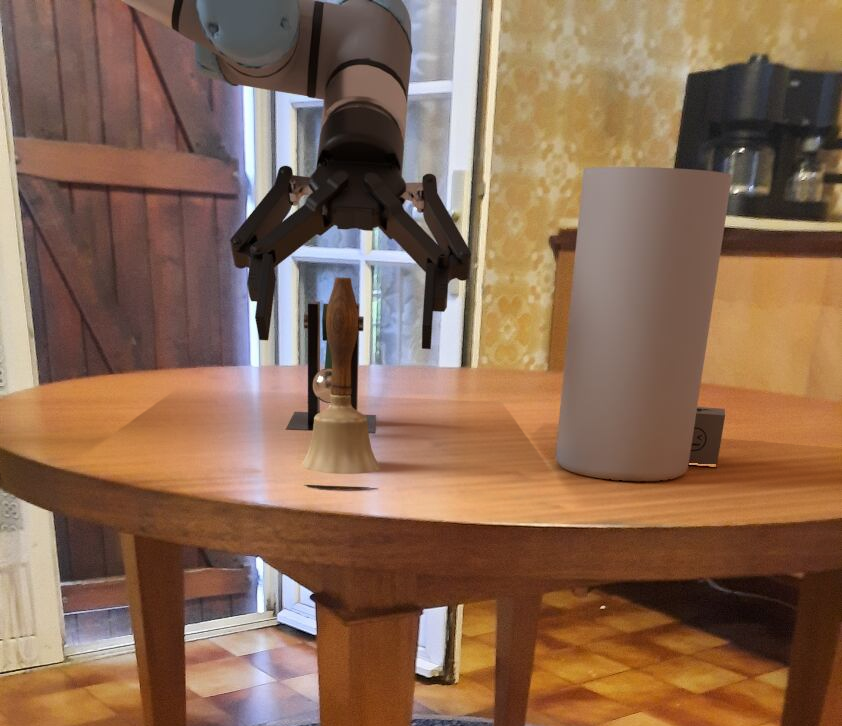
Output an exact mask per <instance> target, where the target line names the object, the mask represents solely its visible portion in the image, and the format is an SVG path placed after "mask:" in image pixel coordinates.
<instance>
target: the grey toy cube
mask: <svg viewBox="0 0 842 726" xmlns="http://www.w3.org/2000/svg"><path fill="white" fill-rule="evenodd" d="M725 419H726V409H725V408H720V407H708V406H707V407H706V406H697V412H696V418H695V425H694V432H693V438H692V445H691V451H690V458H689V463H698V464H716V465H717V466H718V463H719V456H720V451H721V444H722V439H723V432H724V424H725Z"/></svg>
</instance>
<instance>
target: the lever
mask: <svg viewBox="0 0 842 726" xmlns="http://www.w3.org/2000/svg"><path fill="white" fill-rule="evenodd" d="M327 307H328V303H323V304H322V316H321V317H322V318H321V328H322V329H321V331H322V332H321V333H322V341H323V342H325V341H326V342H325V343H326V345H325V359H324V368H322V369H320V371H319V372H318V373H317V374H316V376H315V377H314V380H313V390H314V393H315V395H316V396H317V397H318V399H320V402H323V403H326V404H330V400H331V387H332V384H331V379H332V356H331V351H330V347H329V343H328V338H327V329H326V315H327Z"/></svg>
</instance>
